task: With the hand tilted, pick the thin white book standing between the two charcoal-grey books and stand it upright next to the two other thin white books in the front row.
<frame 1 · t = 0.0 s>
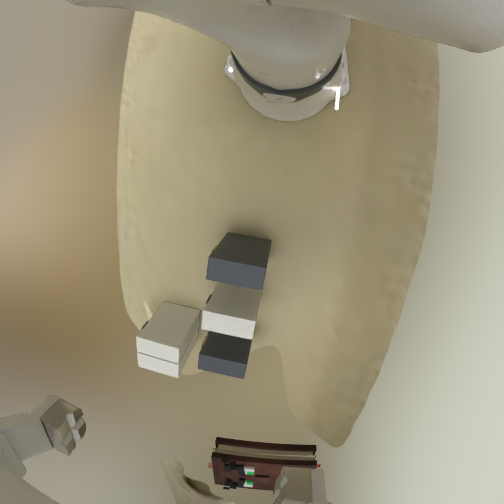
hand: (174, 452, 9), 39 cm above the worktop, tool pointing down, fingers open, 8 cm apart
white book: (241, 287, 49), on the worktop
decorative book: (264, 457, 65), on the worktop
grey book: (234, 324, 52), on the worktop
white book a: (181, 312, 52), on the worktop
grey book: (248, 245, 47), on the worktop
white book b: (180, 326, 53), on the worktop
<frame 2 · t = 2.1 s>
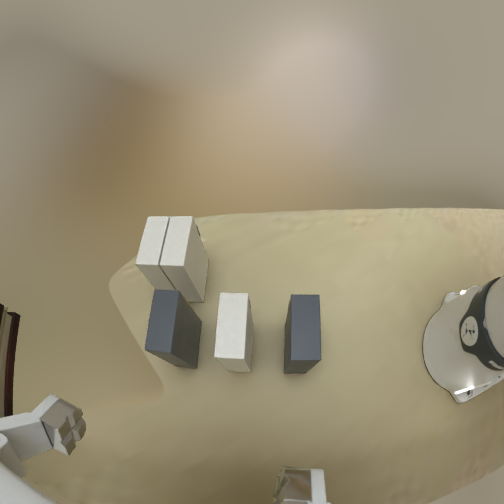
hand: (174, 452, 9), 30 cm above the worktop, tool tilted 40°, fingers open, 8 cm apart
white book: (241, 347, 40), on the worktop
white book a: (197, 280, 45), on the worktop
white book b: (177, 279, 45), on the worktop
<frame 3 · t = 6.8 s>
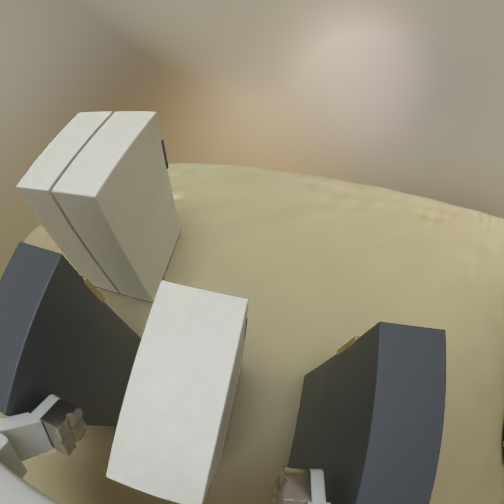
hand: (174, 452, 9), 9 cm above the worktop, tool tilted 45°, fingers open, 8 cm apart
white book: (209, 406, 18), on the worktop
white book a: (151, 261, 24), on the worktop
white book b: (119, 253, 24), on the worktop
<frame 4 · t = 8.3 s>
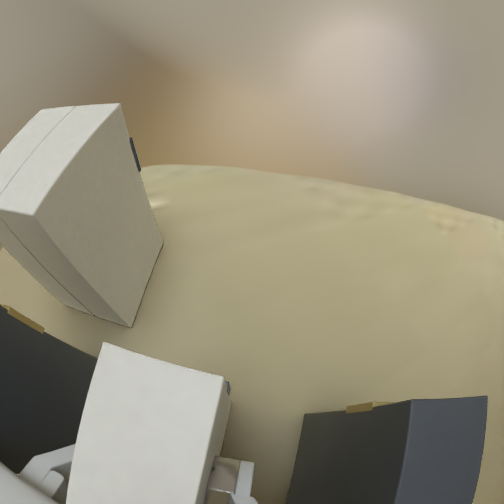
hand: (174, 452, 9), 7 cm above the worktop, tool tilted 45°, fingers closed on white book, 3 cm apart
white book: (195, 448, 14), on the worktop, touching gripper
white book a: (129, 278, 20), on the worktop
white book b: (95, 269, 20), on the worktop
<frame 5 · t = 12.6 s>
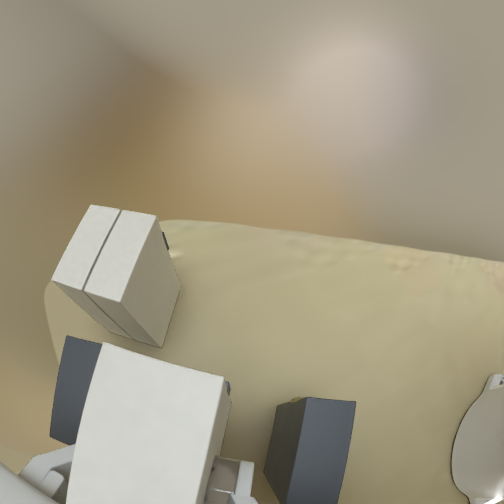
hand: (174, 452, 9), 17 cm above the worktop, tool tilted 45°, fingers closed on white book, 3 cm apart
white book: (195, 448, 14), point 10 cm above the worktop, touching gripper
white book a: (158, 313, 29), on the worktop
white book b: (131, 305, 29), on the worktop
when the fingers open (7 cm above the worktop, at t = 16.9 s): white book stays where it is, on the worktop.
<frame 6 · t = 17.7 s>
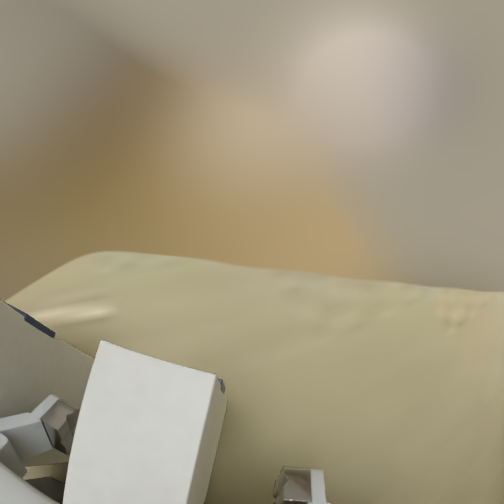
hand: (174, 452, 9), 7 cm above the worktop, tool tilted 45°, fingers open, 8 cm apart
white book: (192, 445, 15), on the worktop
white book a: (80, 406, 15), on the worktop, touching gripper
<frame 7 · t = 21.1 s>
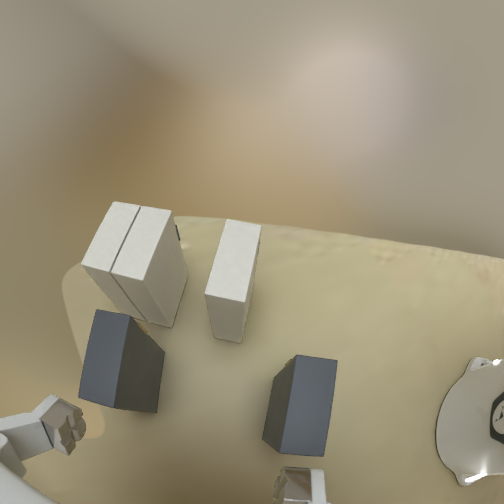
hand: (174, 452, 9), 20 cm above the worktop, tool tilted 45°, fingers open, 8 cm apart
white book: (234, 311, 33), on the worktop
white book a: (168, 297, 33), on the worktop
white book b: (144, 291, 34), on the worktop
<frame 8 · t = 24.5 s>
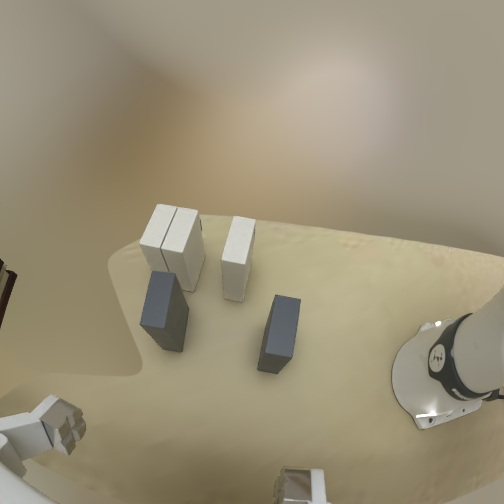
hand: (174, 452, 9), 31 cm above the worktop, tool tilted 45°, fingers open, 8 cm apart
white book: (238, 281, 48), on the worktop
white book a: (191, 271, 48), on the worktop
white book b: (173, 268, 48), on the worktop
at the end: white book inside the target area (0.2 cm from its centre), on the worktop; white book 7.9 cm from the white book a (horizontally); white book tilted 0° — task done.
